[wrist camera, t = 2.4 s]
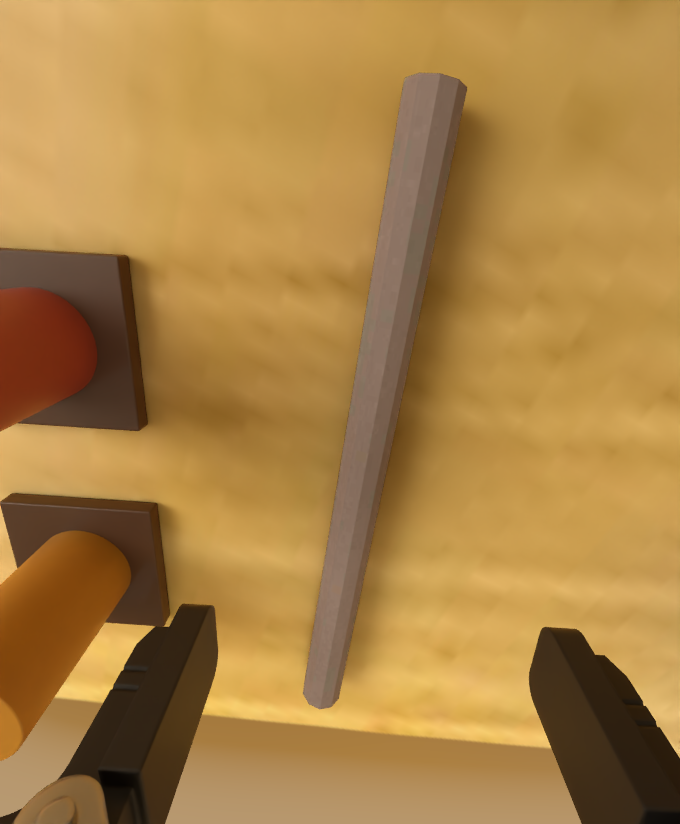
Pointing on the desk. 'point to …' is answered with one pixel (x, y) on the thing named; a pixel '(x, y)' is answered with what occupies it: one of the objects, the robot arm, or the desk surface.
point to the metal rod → (383, 361)
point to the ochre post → (69, 593)
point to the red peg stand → (68, 341)
